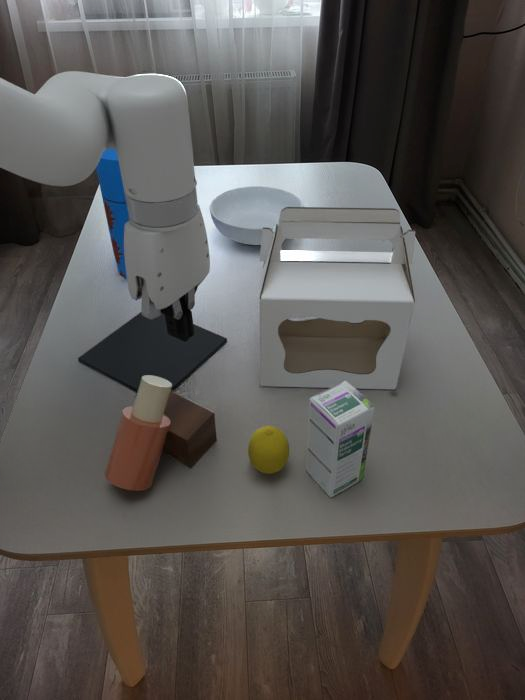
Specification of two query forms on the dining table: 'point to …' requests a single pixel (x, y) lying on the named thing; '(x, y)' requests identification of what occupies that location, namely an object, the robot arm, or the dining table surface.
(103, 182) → the thermos
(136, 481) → the two-tone stacked cylinder
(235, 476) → the dining table surface
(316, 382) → the gable box
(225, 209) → the serving bowl
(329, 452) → the syrup box
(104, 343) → the mat
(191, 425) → the block
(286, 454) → the lemon
